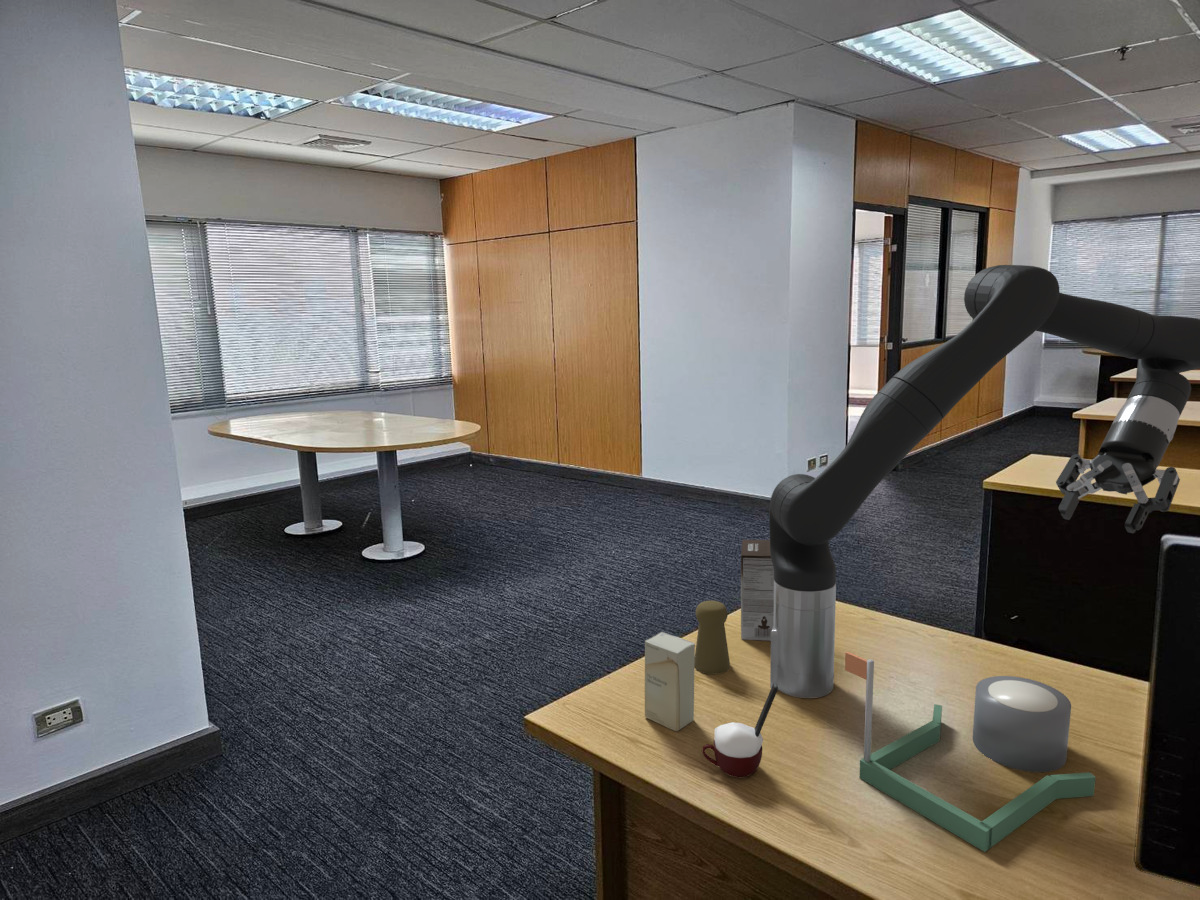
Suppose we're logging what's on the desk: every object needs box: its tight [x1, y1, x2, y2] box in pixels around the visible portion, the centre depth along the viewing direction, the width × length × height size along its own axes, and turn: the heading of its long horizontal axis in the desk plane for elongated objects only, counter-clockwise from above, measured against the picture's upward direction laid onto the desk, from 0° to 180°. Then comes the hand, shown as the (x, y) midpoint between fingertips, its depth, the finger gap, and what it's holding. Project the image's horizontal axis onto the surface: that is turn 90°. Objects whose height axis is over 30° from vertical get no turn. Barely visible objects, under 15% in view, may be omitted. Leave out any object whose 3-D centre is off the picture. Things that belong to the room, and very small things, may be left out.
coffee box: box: [740, 539, 774, 642], centre depth 139 cm, size 9×6×16 cm
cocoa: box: [701, 682, 779, 779], centre depth 98 cm, size 10×6×12 cm, turn 61°
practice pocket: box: [844, 651, 1096, 853], centre depth 94 cm, size 20×22×16 cm
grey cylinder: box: [972, 675, 1072, 773], centre depth 101 cm, size 11×11×8 cm
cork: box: [694, 600, 731, 675], centre depth 126 cm, size 6×6×11 cm
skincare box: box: [644, 631, 696, 732], centre depth 111 cm, size 6×4×12 cm
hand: (1095, 523), depth 109 cm, fingers open, 8 cm apart
